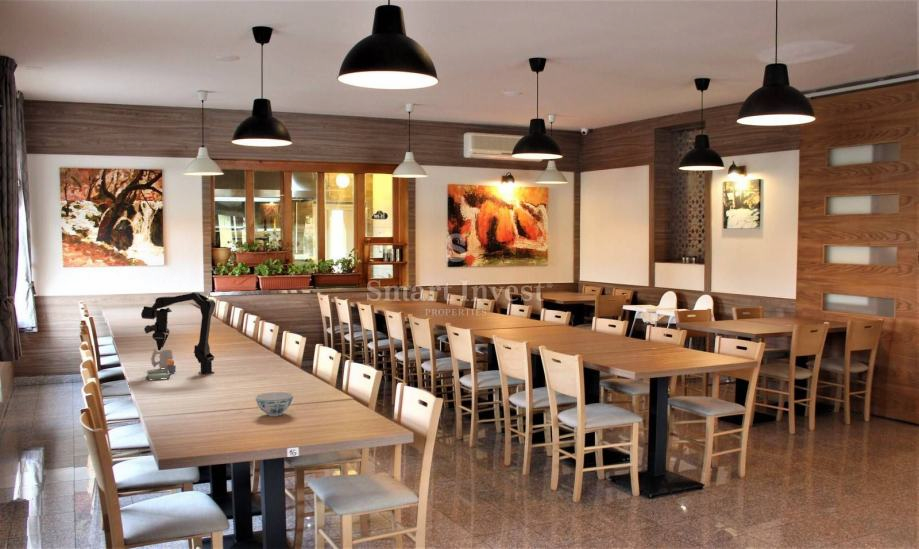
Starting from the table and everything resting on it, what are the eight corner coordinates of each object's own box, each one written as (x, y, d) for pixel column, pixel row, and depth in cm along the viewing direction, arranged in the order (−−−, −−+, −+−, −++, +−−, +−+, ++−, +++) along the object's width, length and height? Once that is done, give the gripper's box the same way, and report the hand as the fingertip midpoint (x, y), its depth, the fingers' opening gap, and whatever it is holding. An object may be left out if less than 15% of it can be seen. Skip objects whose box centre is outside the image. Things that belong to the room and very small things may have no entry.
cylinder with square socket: (177, 372, 421) (177, 365, 421) (167, 374, 418) (167, 366, 417) (173, 371, 425) (172, 364, 425) (163, 372, 421) (163, 365, 421)
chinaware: (296, 410, 328) (296, 391, 328) (289, 418, 313) (289, 399, 313) (260, 410, 328) (259, 392, 327) (251, 418, 313) (251, 399, 312)
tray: (169, 379, 403) (169, 374, 403) (147, 380, 399) (147, 375, 399) (168, 374, 416) (168, 370, 416) (147, 376, 412) (146, 371, 412)
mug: (175, 368, 435) (174, 347, 435) (152, 370, 429) (151, 348, 429) (172, 366, 442) (171, 345, 441) (150, 368, 436) (149, 347, 435)
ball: (175, 366, 421) (175, 359, 421) (168, 367, 418) (168, 359, 418) (172, 365, 424) (172, 358, 424) (165, 366, 421) (164, 359, 421)
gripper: (148, 317, 428) (147, 345, 429) (142, 321, 410) (141, 351, 410) (170, 318, 430) (168, 346, 431) (165, 322, 412) (164, 351, 413)
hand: (160, 348), depth 421 cm, fingers open, 9 cm apart
